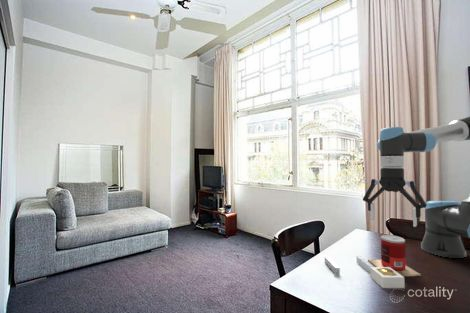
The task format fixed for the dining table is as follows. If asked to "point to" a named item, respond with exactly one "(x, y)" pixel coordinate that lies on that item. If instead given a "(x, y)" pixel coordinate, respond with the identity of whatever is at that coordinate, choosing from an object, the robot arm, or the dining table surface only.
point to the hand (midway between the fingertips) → (392, 222)
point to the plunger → (386, 271)
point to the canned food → (393, 252)
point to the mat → (406, 272)
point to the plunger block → (387, 278)
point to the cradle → (336, 269)
